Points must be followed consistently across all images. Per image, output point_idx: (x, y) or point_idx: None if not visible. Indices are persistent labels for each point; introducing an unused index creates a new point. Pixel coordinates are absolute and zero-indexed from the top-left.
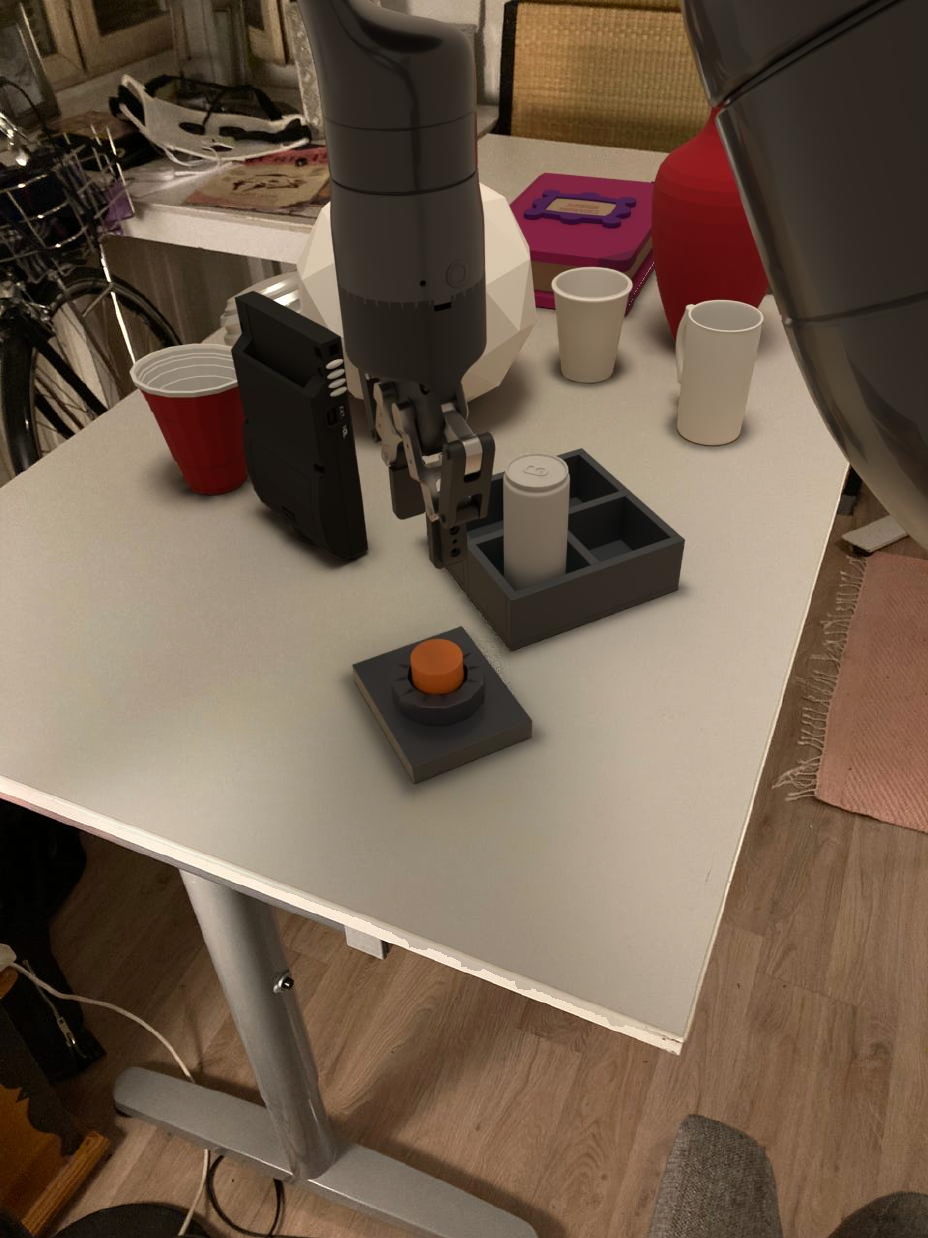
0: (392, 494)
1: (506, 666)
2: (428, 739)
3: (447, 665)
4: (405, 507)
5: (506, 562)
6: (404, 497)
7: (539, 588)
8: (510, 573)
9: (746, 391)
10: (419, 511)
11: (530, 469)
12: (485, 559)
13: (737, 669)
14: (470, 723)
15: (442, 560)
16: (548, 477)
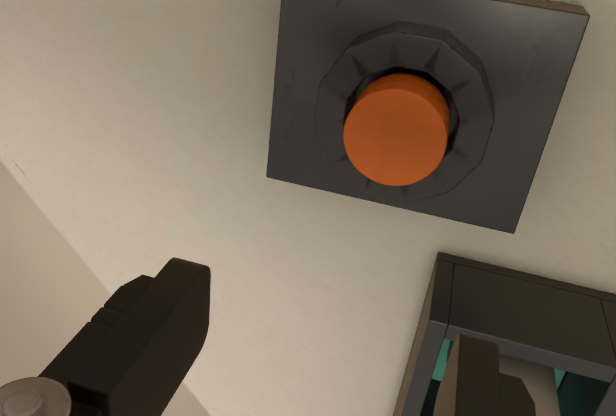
0: (479, 402)
1: (416, 226)
2: (322, 26)
3: (359, 140)
4: (449, 379)
5: (522, 379)
6: (447, 412)
7: (421, 365)
8: (506, 364)
9: None
10: (440, 390)
11: None
12: (558, 364)
13: (236, 395)
14: (311, 103)
15: (143, 284)
16: None
